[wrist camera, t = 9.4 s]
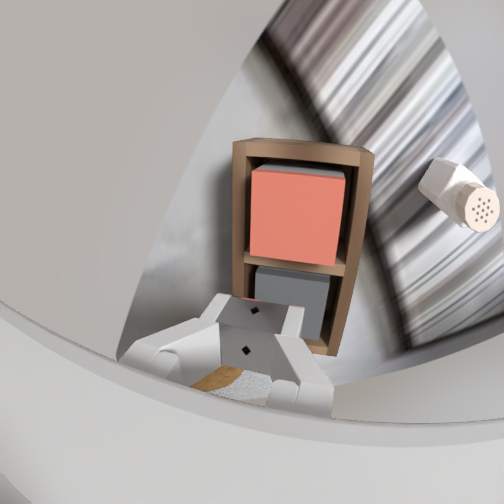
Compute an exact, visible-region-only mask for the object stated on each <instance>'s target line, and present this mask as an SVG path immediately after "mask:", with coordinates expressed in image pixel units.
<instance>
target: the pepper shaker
mask: <svg viewBox="0 0 504 504" xmlns="http://www.w3.org/2000/svg"><path fill="white" fill-rule="evenodd" d="M418 189H419V191H420V192H421V193H422V194H423V195H424V196H425V197H427V198H428V199H429V200H430V201H431V202H433V203H434V204H435V205H436V206H437V207H438V208H440V209H441V210H442V211H443V212H444V213H446V214H447V215H448V216H449V217H450V218H451V219H452V220H454V221H455V222H456V223H457V224H458V225H459V226H460V227H464V228H466V227H469V228H470V229H472V230H474V231H476V232H478V233H479V232H484V231H488V230H489V229H490V228H491V227H492V226H493V225H494V224H495V223H496V221H497V218H498V215H499V200H498V198H497V196H496V194H495V193H494V191H492V190H490V189H488V188H487V187H485V186H484V185H483V184H482V183H481V182H480V180H479V179H478V178H477V177H476V176H474V175H473V174H472V173H471V172H470V171H469V170H468V169H467V168H466V167H464V166H462V165H459V164H457V163H454V162H451V161H449V160H446V159H443V158H440V157H436V158H435V159H434V160H433V161H432V163H431V165H430V166H429V168H428V170H427V171H426V173H425V174H424V176H423V177H422V179H421V181H420V182H419V185H418Z"/></svg>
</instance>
